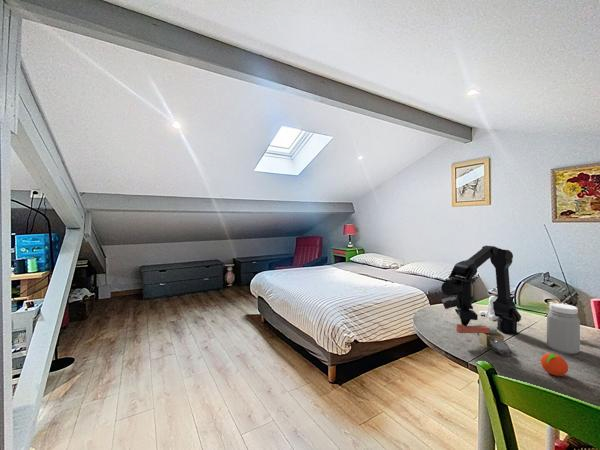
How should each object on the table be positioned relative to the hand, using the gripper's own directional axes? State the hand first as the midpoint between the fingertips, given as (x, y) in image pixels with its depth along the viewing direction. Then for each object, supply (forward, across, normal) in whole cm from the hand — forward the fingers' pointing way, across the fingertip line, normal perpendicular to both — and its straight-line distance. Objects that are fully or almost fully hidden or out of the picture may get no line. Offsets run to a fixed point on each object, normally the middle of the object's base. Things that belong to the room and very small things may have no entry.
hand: (463, 328), depth 117 cm
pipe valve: (+6, -1, +10) cm, 12 cm away
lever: (+1, +1, +4) cm, 5 cm away
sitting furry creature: (+7, -39, +21) cm, 45 cm away
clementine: (+6, +17, +24) cm, 30 cm away
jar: (+7, -7, +37) cm, 38 cm away
